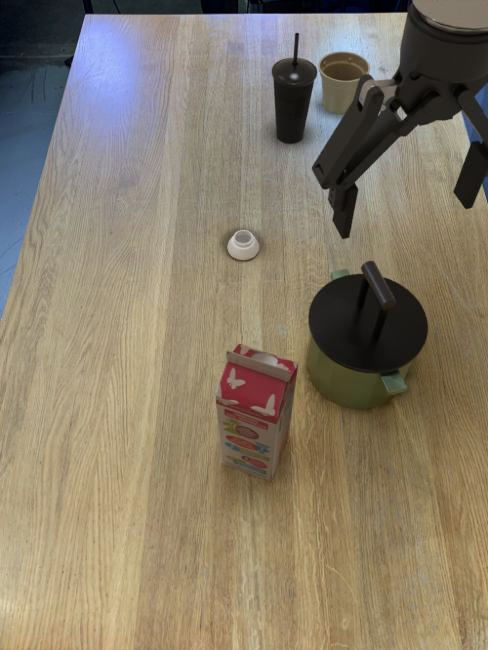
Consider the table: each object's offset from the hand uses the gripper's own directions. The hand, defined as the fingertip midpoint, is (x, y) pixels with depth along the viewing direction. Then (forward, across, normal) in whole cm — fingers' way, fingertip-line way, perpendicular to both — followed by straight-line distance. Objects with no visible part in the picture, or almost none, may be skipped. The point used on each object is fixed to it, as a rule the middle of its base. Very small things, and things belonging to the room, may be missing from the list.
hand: (402, 214), depth 62 cm
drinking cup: (+28, -6, -48) cm, 56 cm away
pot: (+28, +2, +1) cm, 28 cm away
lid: (+18, +2, +1) cm, 18 cm away
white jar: (+28, +10, -24) cm, 38 cm away
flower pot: (+28, -18, -54) cm, 63 cm away
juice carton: (+28, +19, +9) cm, 35 cm away
